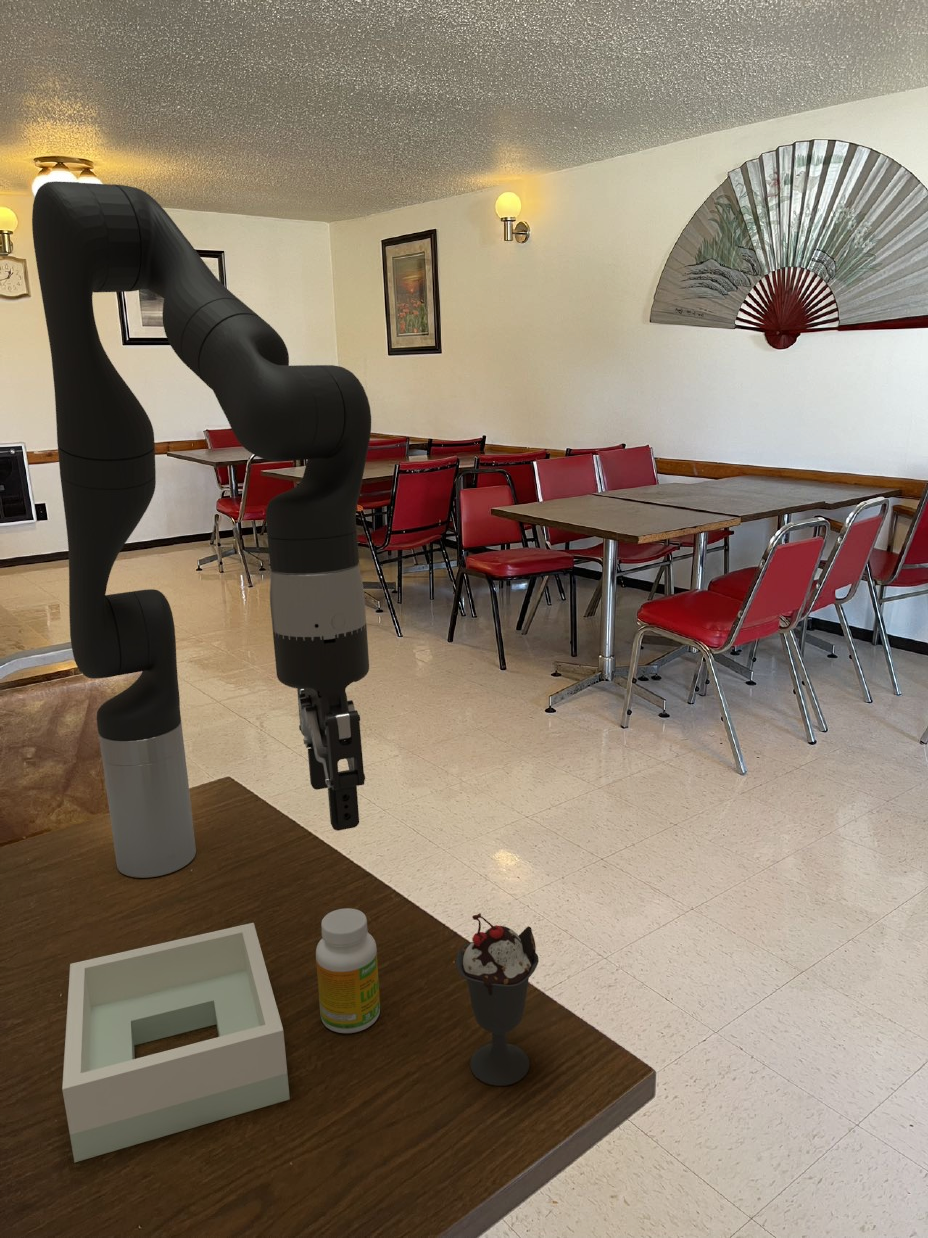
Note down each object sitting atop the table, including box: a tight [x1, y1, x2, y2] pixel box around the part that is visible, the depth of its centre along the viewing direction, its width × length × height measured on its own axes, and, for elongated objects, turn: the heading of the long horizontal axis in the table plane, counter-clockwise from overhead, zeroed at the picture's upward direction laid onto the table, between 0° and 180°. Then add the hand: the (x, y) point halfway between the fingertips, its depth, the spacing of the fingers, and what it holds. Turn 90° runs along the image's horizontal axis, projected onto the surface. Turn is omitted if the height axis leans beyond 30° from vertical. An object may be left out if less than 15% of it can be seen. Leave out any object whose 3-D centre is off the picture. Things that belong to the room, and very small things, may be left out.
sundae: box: [456, 913, 540, 1087], centre depth 74 cm, size 7×7×15 cm
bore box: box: [61, 922, 291, 1163], centre depth 77 cm, size 16×16×6 cm
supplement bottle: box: [315, 907, 381, 1034], centre depth 82 cm, size 5×5×10 cm
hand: (334, 806), depth 78 cm, fingers open, 8 cm apart
